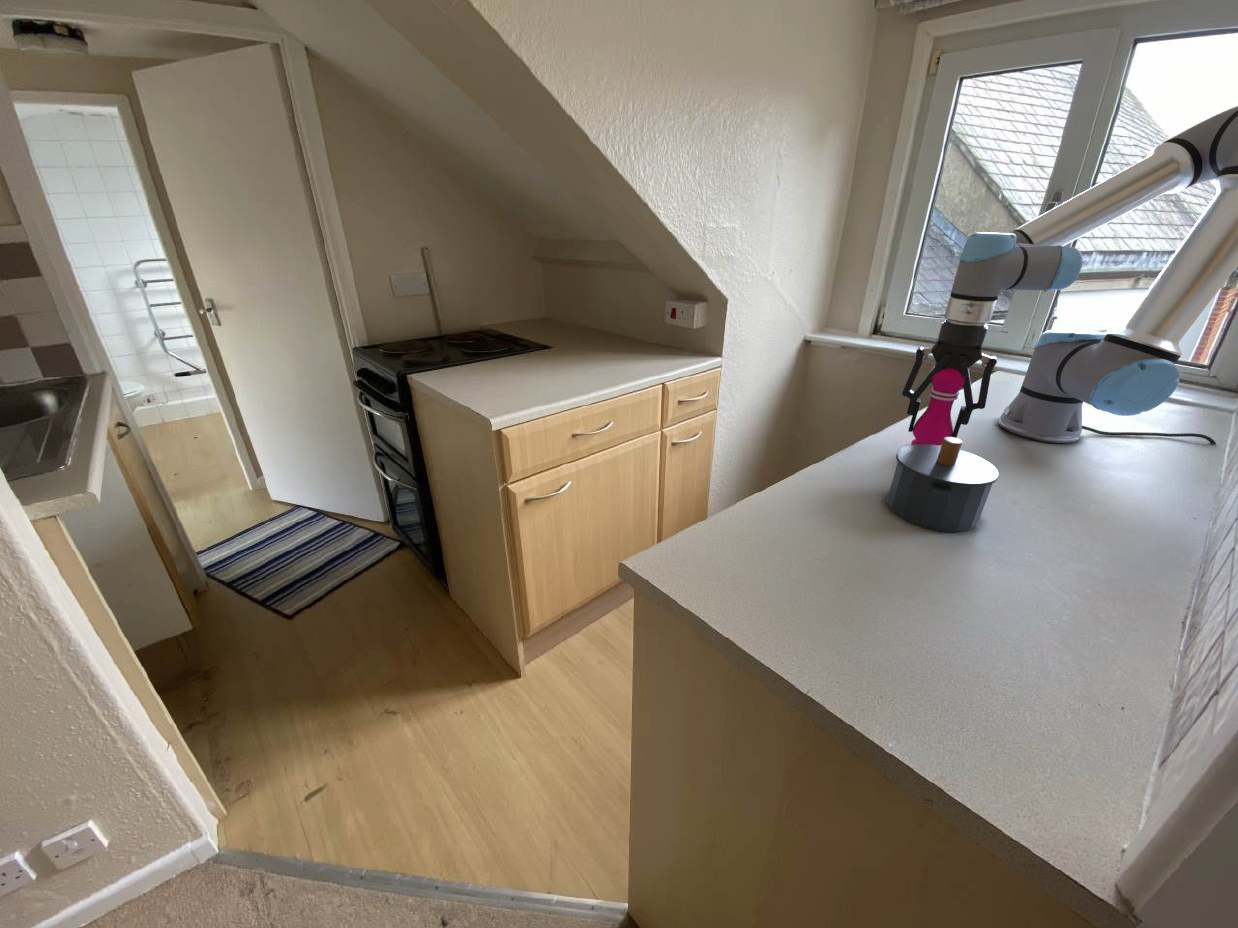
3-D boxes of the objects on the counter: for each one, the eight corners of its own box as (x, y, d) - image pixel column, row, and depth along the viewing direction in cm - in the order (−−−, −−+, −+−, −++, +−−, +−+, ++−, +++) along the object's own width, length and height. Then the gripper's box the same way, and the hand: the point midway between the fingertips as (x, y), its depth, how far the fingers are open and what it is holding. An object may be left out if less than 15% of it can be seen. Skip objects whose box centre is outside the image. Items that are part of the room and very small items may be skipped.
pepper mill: (951, 460, 108) (982, 364, 99) (912, 456, 109) (940, 362, 100) (939, 446, 114) (968, 354, 105) (903, 442, 115) (928, 352, 106)
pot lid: (995, 462, 89) (1005, 434, 87) (998, 500, 78) (1010, 468, 75) (899, 443, 96) (907, 416, 93) (889, 475, 84) (897, 445, 82)
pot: (976, 497, 94) (992, 454, 91) (977, 550, 80) (995, 502, 76) (893, 478, 101) (904, 437, 97) (879, 524, 86) (892, 478, 82)
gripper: (904, 318, 101) (876, 429, 111) (1032, 332, 92) (988, 451, 102) (908, 312, 107) (881, 418, 117) (1029, 325, 98) (988, 438, 108)
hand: (931, 433), depth 110 cm, fingers closed on pepper mill, 7 cm apart
